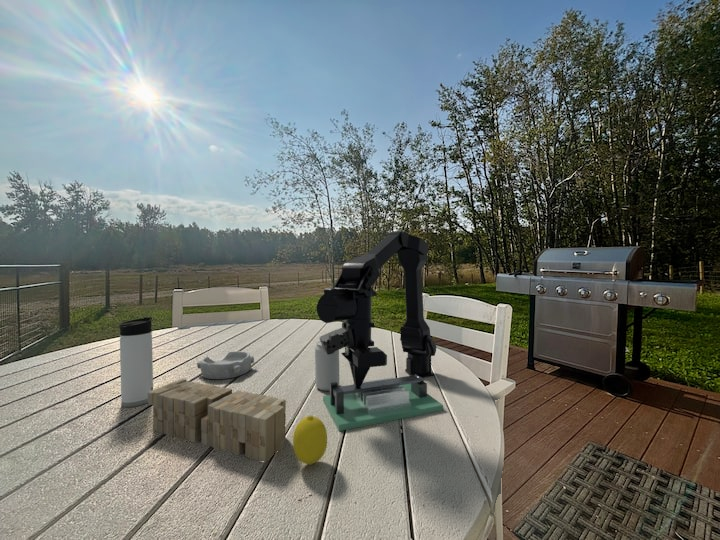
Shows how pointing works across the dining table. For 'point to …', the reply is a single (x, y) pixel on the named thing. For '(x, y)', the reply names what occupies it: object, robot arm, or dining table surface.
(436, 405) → the circuit board
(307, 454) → the lemon
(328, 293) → the robot arm
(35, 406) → the dining table surface
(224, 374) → the dish
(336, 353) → the beverage can
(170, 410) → the block tower
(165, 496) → the dining table surface
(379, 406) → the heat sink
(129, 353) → the travel mug
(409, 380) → the strap
